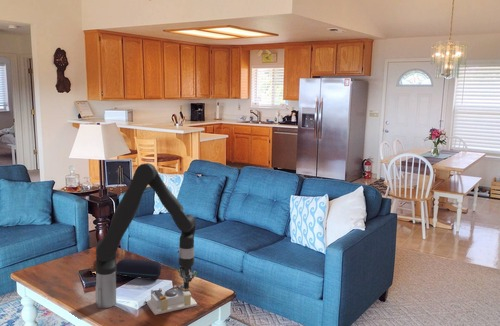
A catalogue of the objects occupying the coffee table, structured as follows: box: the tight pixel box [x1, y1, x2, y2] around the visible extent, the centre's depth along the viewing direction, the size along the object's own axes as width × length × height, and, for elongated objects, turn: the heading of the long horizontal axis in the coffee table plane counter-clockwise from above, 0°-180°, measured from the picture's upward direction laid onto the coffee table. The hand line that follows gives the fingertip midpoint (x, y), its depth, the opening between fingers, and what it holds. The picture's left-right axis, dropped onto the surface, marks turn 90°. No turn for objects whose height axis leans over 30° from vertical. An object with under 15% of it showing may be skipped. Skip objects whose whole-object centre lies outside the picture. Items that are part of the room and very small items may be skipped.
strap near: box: [154, 289, 166, 300], centre depth 222 cm, size 2×12×2 cm, turn 30°
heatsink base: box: [146, 283, 198, 316], centre depth 226 cm, size 22×15×6 cm
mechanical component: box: [177, 269, 198, 279], centre depth 244 cm, size 3×10×10 cm, turn 79°
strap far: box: [176, 285, 190, 292], centre depth 228 cm, size 2×12×2 cm, turn 30°
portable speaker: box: [116, 258, 162, 280], centre depth 254 cm, size 25×10×10 cm, turn 85°
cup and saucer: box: [89, 260, 96, 270], centre depth 259 cm, size 12×12×6 cm
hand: (186, 288), depth 224 cm, fingers closed
